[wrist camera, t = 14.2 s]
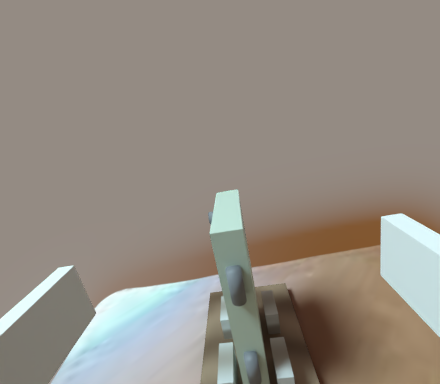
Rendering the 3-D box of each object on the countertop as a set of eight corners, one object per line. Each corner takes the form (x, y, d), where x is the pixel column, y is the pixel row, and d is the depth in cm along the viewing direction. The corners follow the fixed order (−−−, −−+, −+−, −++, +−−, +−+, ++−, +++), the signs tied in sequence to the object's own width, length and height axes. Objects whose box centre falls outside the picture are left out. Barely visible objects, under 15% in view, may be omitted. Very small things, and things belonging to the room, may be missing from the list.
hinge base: (348, 479, 17) (347, 442, 16) (194, 487, 18) (181, 452, 17) (286, 291, 36) (283, 267, 35) (212, 300, 38) (206, 277, 36)
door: (273, 408, 21) (243, 235, 16) (234, 411, 21) (191, 243, 16) (259, 312, 32) (237, 189, 26) (232, 315, 32) (206, 194, 27)
